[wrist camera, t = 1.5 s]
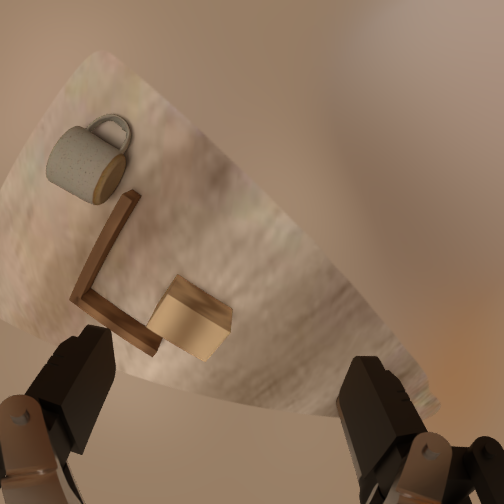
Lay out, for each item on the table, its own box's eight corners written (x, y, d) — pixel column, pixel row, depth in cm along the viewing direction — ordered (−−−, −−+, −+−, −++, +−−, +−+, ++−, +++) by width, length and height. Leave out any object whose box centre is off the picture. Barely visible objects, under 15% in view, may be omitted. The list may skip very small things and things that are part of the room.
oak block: (232, 308, 43) (230, 332, 38) (209, 336, 45) (205, 362, 39) (177, 273, 41) (167, 293, 36) (157, 304, 43) (145, 327, 37)
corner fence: (225, 255, 41) (223, 265, 37) (158, 343, 45) (152, 357, 42) (132, 189, 37) (122, 193, 34) (79, 289, 42) (69, 299, 39)
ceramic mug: (113, 203, 38) (87, 216, 31) (67, 176, 37) (36, 184, 29) (149, 130, 35) (127, 126, 28) (99, 105, 34) (71, 99, 26)
